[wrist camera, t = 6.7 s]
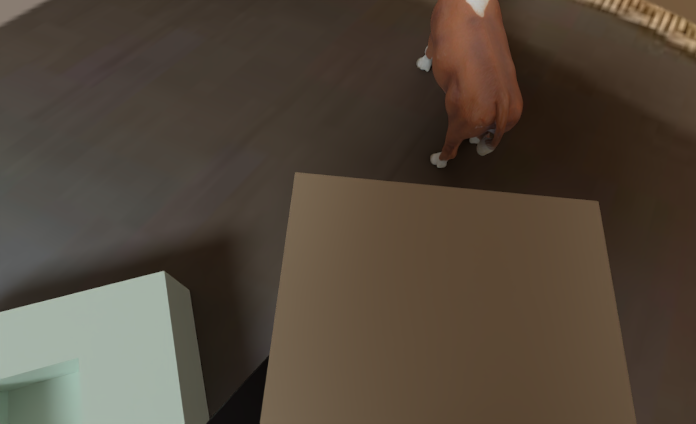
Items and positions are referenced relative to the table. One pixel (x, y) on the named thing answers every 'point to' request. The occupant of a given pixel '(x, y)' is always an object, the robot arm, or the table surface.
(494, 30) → the bull figurine
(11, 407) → the end cap
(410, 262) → the slat
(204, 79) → the table surface
